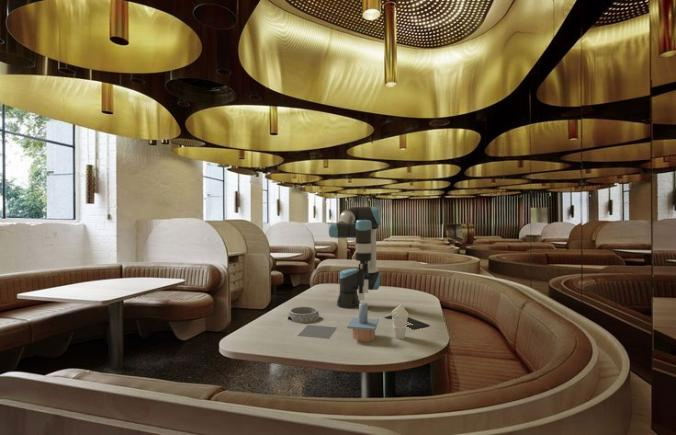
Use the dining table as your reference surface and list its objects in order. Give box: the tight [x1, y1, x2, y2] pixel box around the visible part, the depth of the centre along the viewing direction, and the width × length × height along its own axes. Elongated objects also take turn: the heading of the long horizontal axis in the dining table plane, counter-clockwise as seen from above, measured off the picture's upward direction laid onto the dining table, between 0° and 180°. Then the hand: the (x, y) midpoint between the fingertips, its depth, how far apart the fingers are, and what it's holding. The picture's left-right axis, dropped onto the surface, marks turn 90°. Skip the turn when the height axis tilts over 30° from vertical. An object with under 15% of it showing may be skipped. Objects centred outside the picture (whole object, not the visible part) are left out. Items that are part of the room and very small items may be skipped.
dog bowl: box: [287, 306, 320, 324], centre depth 183 cm, size 17×18×5 cm
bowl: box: [350, 329, 376, 343], centre depth 155 cm, size 11×11×6 cm
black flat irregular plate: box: [383, 315, 430, 331], centre depth 178 cm, size 25×1×15 cm
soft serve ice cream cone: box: [390, 303, 409, 340], centre depth 155 cm, size 8×8×16 cm
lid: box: [346, 302, 379, 332], centre depth 155 cm, size 13×13×10 cm
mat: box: [297, 324, 338, 340], centre depth 161 cm, size 16×16×1 cm
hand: (363, 296), depth 155 cm, fingers open, 13 cm apart
